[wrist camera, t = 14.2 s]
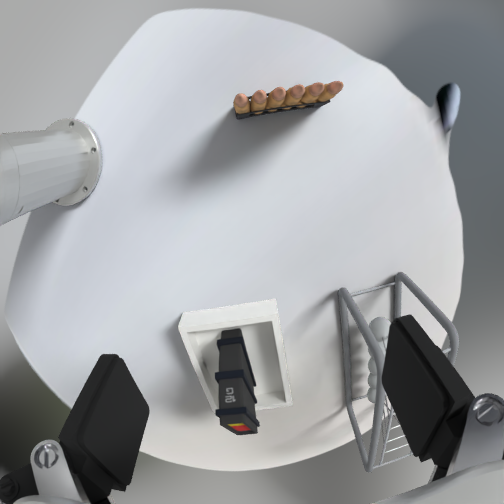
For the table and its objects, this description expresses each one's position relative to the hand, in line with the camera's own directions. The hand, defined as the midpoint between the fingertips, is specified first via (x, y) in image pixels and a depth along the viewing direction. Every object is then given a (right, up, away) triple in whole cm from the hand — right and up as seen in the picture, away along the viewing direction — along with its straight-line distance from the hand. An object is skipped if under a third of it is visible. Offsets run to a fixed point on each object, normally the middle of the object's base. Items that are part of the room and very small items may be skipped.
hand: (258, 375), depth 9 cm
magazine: (-2, -13, +36) cm, 39 cm away
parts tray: (-2, -13, +37) cm, 39 cm away
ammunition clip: (+3, +22, +24) cm, 33 cm away
